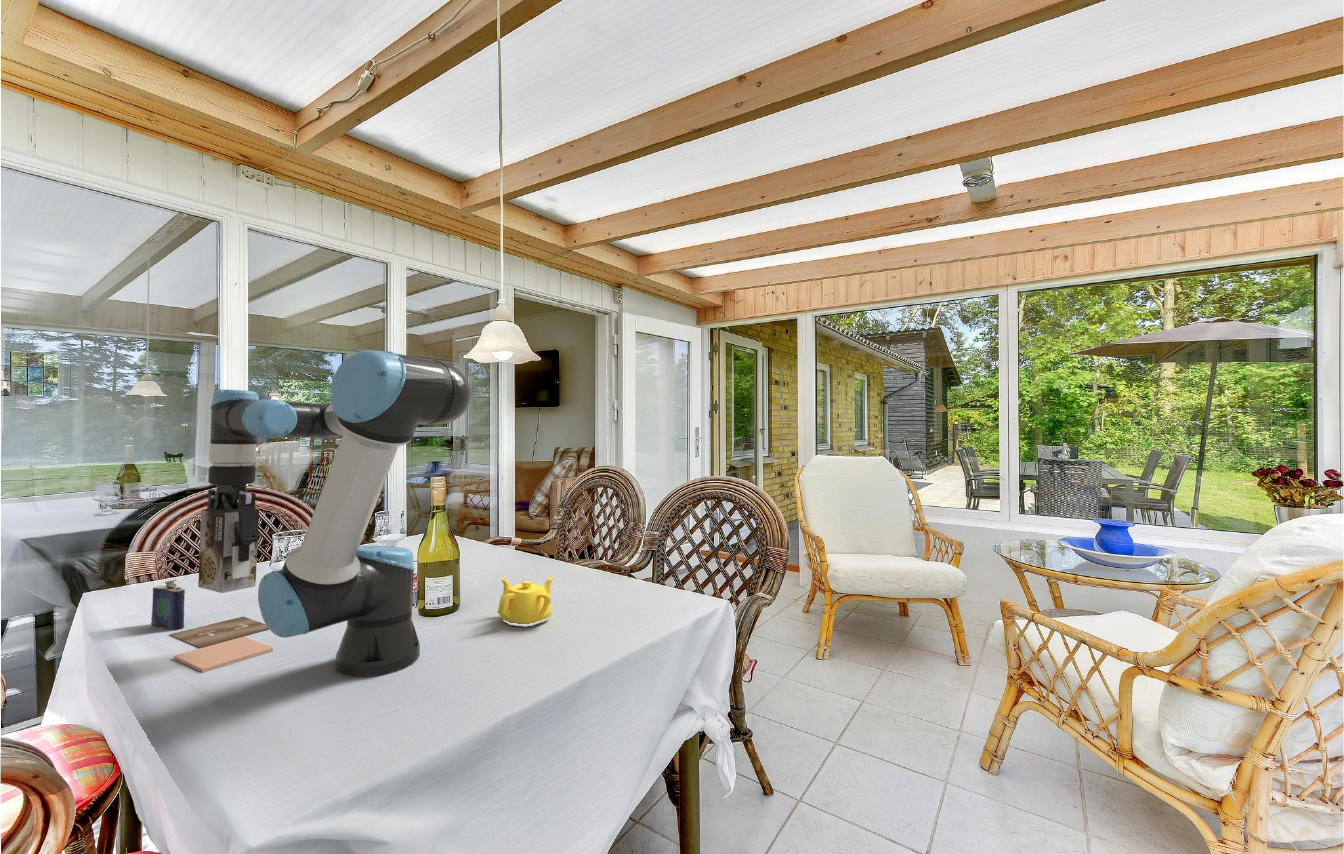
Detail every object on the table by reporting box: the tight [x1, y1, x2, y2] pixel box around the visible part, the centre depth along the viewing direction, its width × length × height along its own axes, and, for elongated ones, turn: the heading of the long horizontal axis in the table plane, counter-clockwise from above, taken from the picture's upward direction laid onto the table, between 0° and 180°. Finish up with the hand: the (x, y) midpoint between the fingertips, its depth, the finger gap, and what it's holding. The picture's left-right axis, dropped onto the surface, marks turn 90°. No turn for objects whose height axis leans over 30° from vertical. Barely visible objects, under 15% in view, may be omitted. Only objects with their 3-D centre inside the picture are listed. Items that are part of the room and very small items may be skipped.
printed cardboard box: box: [197, 508, 261, 594], centre depth 111 cm, size 9×6×16 cm
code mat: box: [169, 616, 270, 649], centre depth 122 cm, size 14×14×1 cm
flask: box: [150, 579, 186, 631], centre depth 125 cm, size 9×3×11 cm, turn 71°
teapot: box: [497, 575, 556, 624], centre depth 135 cm, size 14×13×10 cm
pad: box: [173, 636, 274, 673], centre depth 110 cm, size 12×12×1 cm
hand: (227, 573), depth 110 cm, fingers closed on printed cardboard box, 9 cm apart
